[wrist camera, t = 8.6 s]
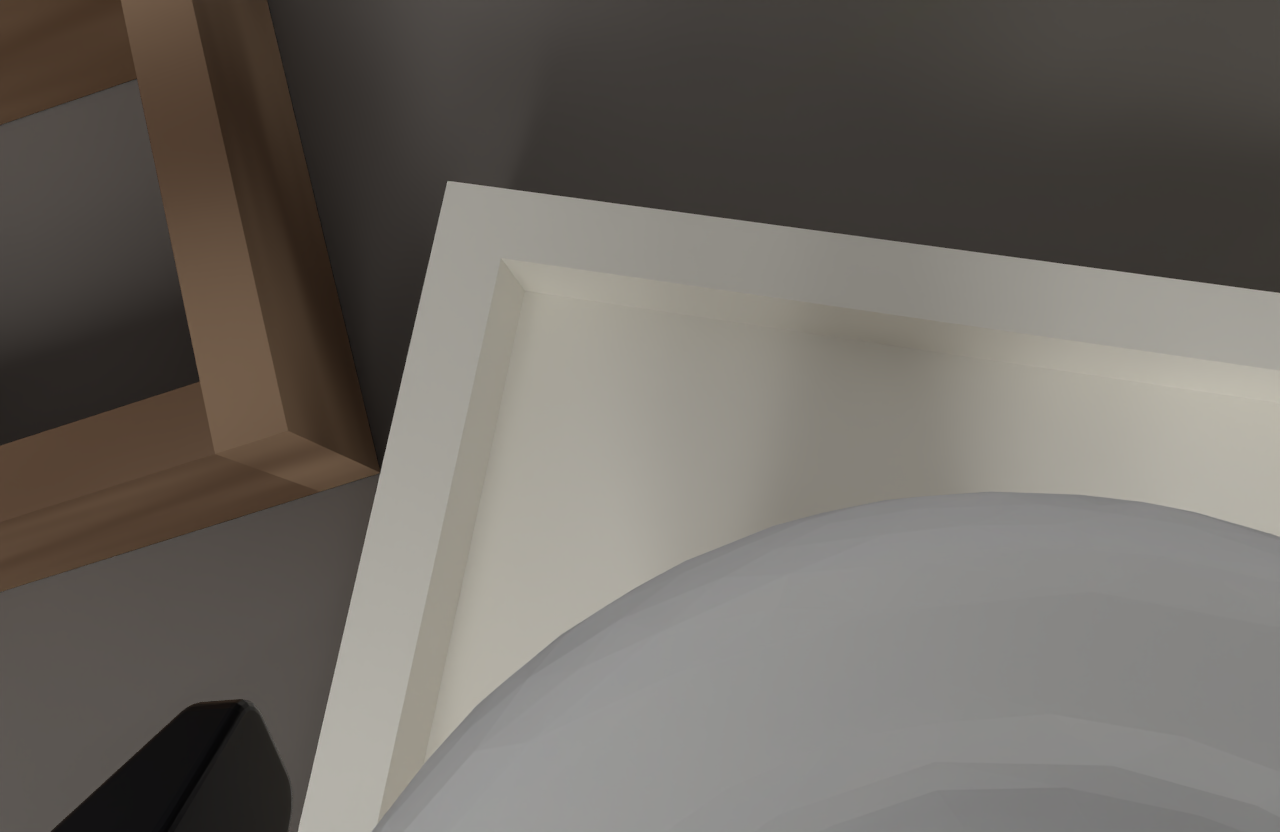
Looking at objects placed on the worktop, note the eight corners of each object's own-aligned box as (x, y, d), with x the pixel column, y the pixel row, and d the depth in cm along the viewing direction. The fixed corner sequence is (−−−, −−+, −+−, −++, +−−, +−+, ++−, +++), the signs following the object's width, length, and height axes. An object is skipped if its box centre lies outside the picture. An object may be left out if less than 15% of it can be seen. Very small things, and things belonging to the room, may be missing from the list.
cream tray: (1352, 1483, 14) (1465, 1650, 12) (283, 1182, 17) (196, 1272, 14) (1432, 375, 17) (1540, 328, 14) (491, 242, 19) (447, 181, 17)
